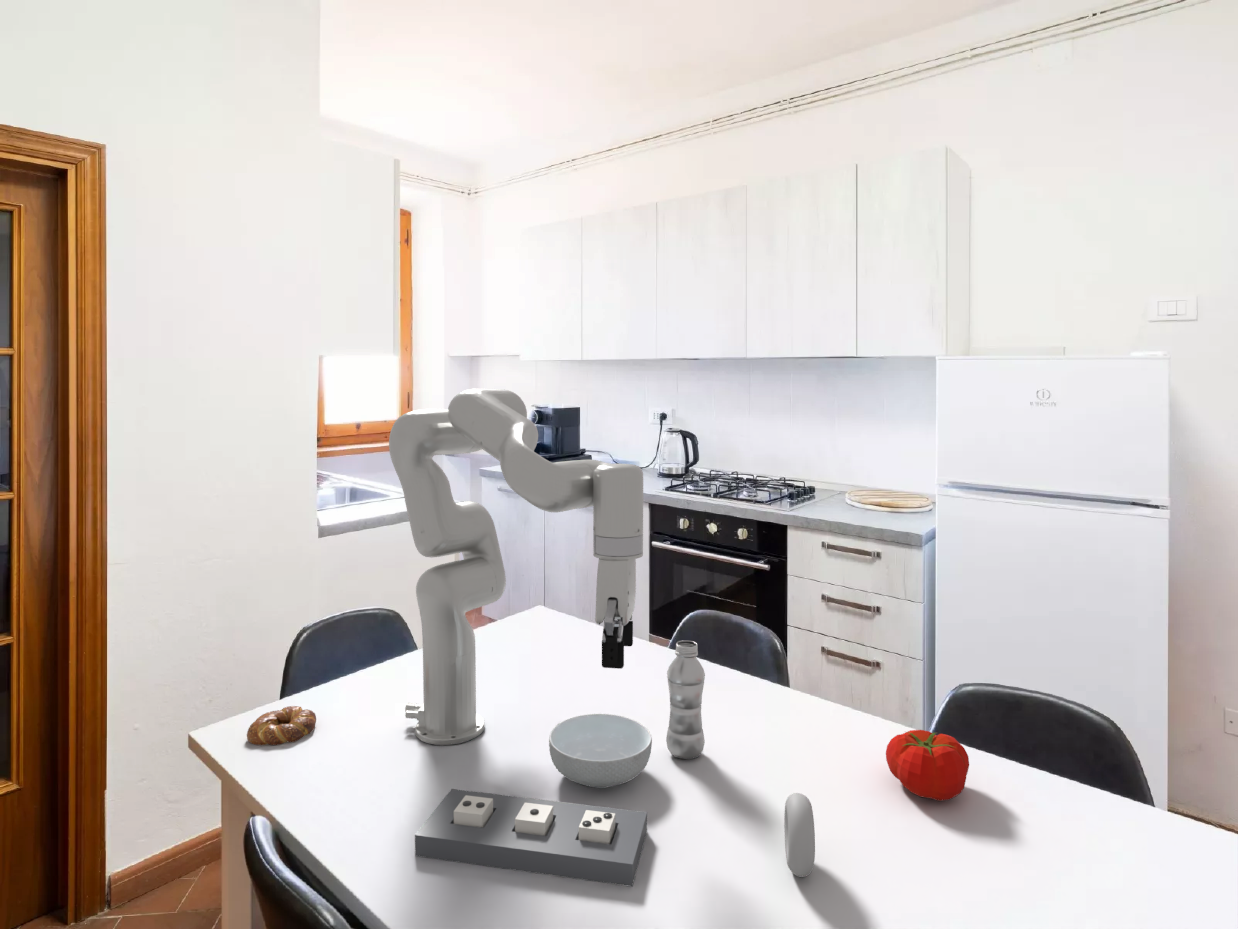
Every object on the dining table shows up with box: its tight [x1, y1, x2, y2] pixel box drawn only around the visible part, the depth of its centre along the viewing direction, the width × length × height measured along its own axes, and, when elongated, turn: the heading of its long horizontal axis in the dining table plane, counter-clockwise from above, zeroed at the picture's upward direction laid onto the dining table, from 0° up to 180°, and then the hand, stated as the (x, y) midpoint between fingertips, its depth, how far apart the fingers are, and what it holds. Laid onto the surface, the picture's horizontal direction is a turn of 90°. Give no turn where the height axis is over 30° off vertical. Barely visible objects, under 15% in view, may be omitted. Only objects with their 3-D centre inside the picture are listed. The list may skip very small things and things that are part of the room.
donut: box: [783, 792, 816, 878], centre depth 97 cm, size 10×4×10 cm, turn 172°
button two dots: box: [454, 795, 493, 828], centre depth 103 cm, size 4×4×2 cm
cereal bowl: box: [548, 713, 653, 789], centre depth 120 cm, size 17×17×7 cm
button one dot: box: [515, 803, 553, 836], centre depth 102 cm, size 4×4×3 cm
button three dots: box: [579, 810, 615, 844], centre depth 100 cm, size 4×4×3 cm
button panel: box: [414, 788, 648, 887], centre depth 102 cm, size 30×12×3 cm, turn 79°
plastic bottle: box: [665, 640, 706, 760], centre depth 127 cm, size 6×7×20 cm
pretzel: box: [246, 705, 317, 746], centre depth 134 cm, size 12×11×4 cm
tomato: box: [885, 729, 970, 802], centre depth 117 cm, size 14×13×9 cm
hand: (617, 655), depth 111 cm, fingers open, 9 cm apart
